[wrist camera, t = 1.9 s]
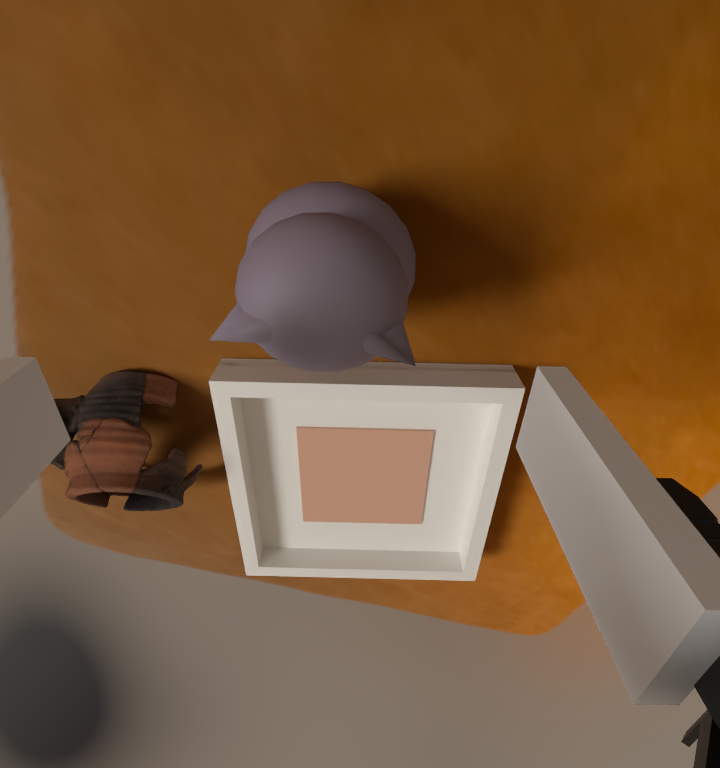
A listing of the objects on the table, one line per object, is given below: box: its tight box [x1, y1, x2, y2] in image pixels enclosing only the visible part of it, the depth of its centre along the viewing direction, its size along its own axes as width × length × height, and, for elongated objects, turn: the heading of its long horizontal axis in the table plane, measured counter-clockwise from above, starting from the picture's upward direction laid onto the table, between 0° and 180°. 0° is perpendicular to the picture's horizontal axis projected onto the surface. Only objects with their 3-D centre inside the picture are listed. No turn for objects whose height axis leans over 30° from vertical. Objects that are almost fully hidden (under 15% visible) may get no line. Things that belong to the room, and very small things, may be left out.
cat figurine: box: [210, 182, 416, 373], centre depth 21 cm, size 8×8×12 cm
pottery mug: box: [51, 371, 202, 511], centre depth 31 cm, size 12×10×8 cm
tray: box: [209, 358, 525, 581], centre depth 34 cm, size 20×20×3 cm
